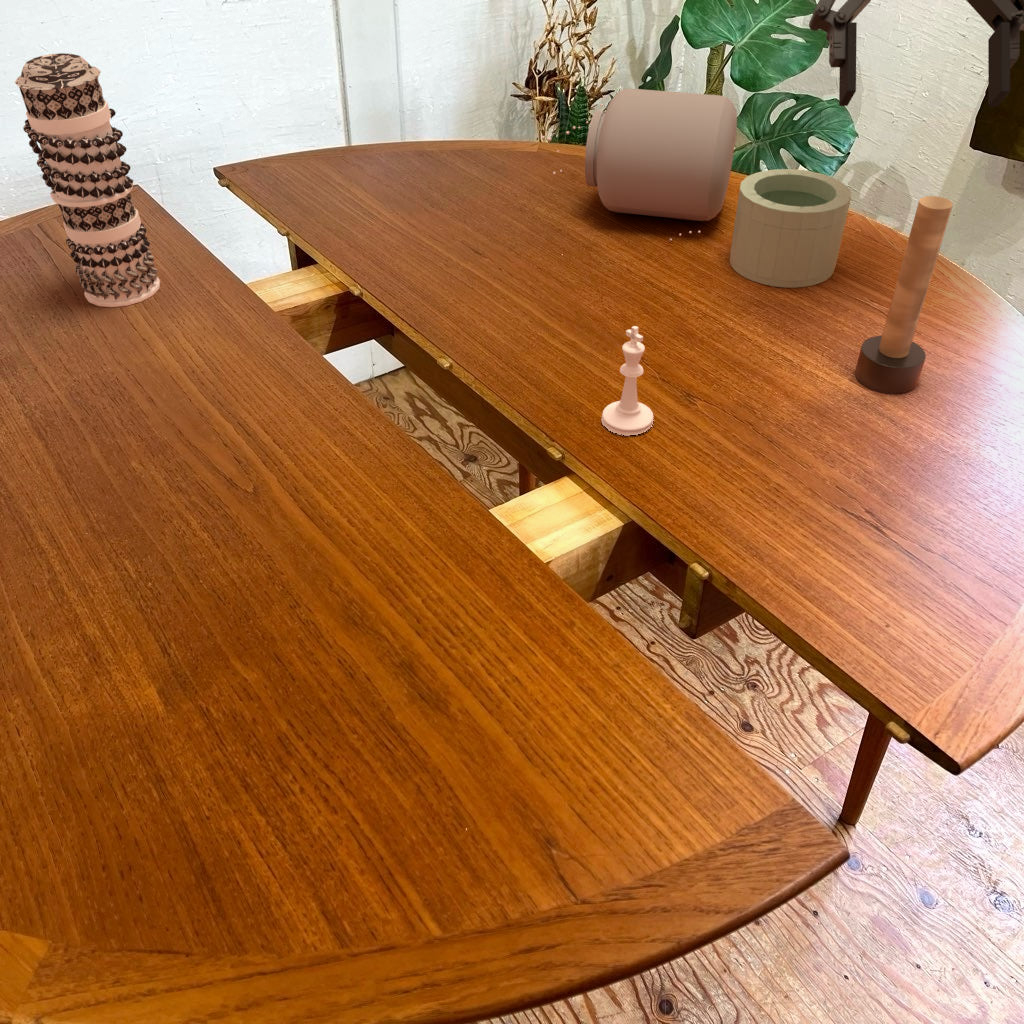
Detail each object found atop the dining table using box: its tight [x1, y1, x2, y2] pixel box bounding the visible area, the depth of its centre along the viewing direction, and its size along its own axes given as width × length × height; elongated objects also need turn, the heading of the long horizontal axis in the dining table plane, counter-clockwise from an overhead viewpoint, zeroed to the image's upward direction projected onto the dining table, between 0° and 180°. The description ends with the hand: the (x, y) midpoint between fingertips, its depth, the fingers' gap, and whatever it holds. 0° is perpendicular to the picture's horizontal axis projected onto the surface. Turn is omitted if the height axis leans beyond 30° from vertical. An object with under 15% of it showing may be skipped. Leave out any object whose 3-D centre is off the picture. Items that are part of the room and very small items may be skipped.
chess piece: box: [600, 325, 655, 437], centre depth 87 cm, size 5×5×10 cm
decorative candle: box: [14, 52, 161, 308], centre depth 103 cm, size 9×9×25 cm
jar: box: [541, 88, 738, 242], centre depth 122 cm, size 19×15×25 cm
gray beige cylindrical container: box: [729, 168, 852, 289], centre depth 111 cm, size 12×12×9 cm
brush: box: [854, 195, 954, 395], centre depth 90 cm, size 6×6×18 cm
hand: (922, 99), depth 88 cm, fingers open, 13 cm apart
